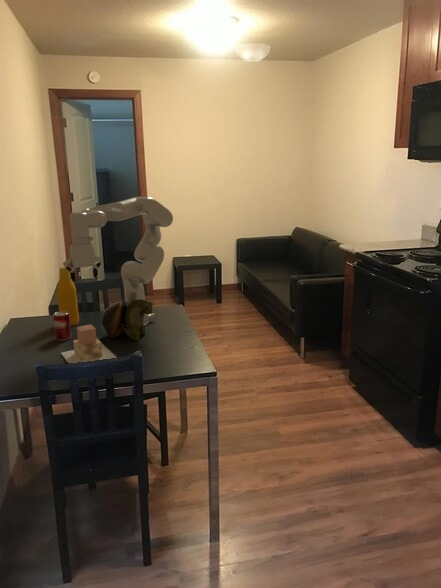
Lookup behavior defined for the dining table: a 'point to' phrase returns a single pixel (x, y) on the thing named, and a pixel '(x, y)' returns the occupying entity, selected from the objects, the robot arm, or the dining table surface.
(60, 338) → the soda can
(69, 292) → the beer bottle
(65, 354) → the plate
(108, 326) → the brown green figure
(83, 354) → the maple block
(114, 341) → the dining table surface
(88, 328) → the pink cube
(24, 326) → the dining table surface
